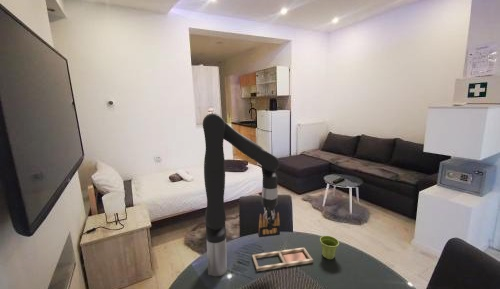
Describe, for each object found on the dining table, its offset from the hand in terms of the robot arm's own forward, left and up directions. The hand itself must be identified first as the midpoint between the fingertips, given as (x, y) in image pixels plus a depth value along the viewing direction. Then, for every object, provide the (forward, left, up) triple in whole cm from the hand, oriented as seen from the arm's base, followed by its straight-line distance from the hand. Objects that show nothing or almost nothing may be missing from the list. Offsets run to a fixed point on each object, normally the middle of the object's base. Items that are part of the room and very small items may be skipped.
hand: (269, 228), depth 115 cm
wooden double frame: (+7, 0, -19) cm, 20 cm away
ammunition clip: (0, 0, -4) cm, 4 cm away
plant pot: (+32, -2, -19) cm, 37 cm away
